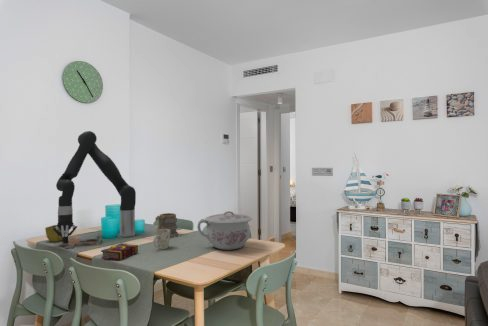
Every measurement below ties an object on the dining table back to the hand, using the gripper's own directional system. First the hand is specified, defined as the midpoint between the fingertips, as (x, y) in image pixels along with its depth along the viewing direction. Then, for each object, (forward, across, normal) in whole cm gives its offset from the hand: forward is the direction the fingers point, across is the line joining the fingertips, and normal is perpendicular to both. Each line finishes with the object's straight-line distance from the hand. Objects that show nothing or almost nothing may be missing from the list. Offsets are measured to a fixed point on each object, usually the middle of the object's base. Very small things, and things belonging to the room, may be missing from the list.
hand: (65, 242), depth 188 cm
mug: (+2, -52, +27) cm, 59 cm away
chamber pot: (+2, -89, +36) cm, 96 cm away
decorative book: (+2, -31, +33) cm, 45 cm away
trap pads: (+1, -6, 0) cm, 6 cm away
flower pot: (+2, +7, -14) cm, 16 cm away
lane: (+1, -9, 0) cm, 9 cm away
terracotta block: (+1, -5, 0) cm, 5 cm away
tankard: (+2, -57, -3) cm, 57 cm away
